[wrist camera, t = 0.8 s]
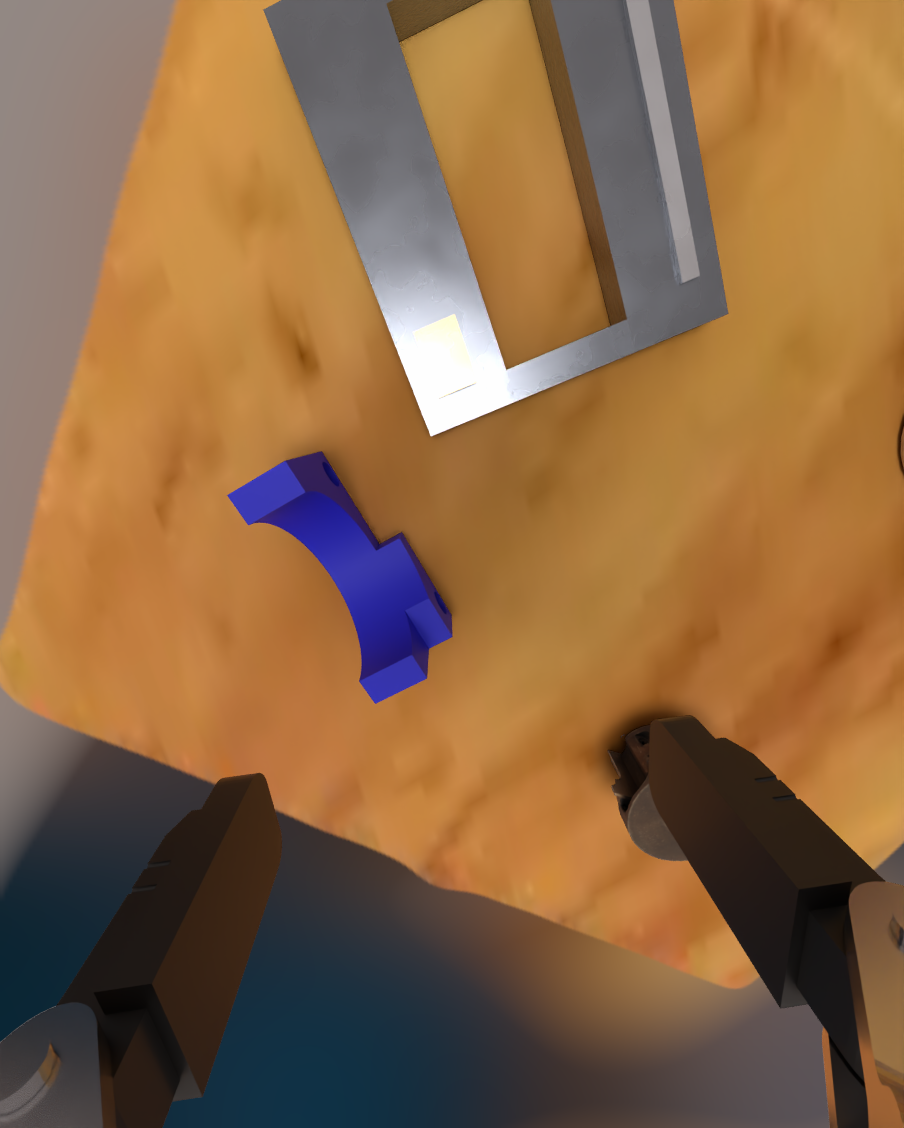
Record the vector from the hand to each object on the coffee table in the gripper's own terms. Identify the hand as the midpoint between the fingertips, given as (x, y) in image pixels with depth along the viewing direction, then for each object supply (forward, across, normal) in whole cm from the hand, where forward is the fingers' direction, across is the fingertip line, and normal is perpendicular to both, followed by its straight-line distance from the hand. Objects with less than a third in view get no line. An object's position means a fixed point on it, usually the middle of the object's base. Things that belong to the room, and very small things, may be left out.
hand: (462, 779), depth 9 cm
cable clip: (+18, +4, -1) cm, 19 cm away
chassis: (+17, -6, -17) cm, 25 cm away
